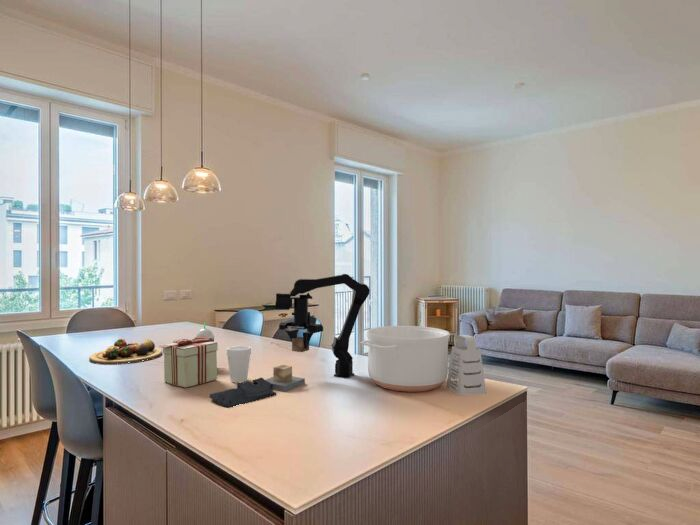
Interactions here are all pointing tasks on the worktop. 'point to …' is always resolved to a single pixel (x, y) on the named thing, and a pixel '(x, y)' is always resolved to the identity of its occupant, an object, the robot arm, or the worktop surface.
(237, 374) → the foam cup
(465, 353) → the grater
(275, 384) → the base
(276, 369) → the oak block
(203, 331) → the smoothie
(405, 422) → the worktop surface
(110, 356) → the wooden plate with food
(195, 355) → the gift box
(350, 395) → the worktop surface
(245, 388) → the dark slate chunk
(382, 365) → the pot
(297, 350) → the walnut block
